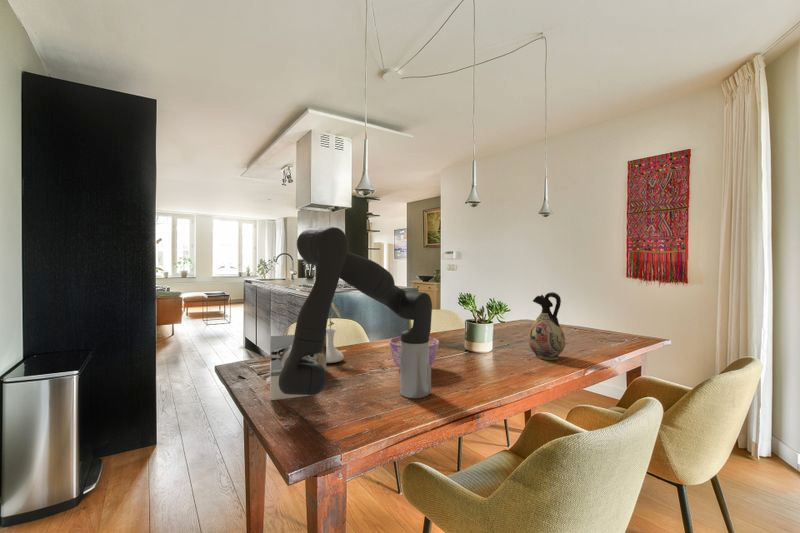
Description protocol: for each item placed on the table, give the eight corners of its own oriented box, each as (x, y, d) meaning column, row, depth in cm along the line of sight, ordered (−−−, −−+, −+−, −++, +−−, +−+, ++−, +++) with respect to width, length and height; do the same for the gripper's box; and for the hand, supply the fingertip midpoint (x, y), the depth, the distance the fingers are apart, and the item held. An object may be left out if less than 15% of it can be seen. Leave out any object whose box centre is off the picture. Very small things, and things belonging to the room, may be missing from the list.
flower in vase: (341, 365, 148) (341, 305, 148) (313, 365, 148) (314, 304, 148) (346, 357, 161) (346, 301, 161) (321, 356, 161) (321, 301, 161)
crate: (306, 384, 125) (306, 358, 125) (310, 395, 115) (310, 367, 114) (270, 388, 121) (270, 361, 121) (270, 400, 110) (270, 371, 110)
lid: (308, 334, 120) (308, 333, 119) (310, 367, 115) (310, 366, 114) (270, 336, 116) (270, 336, 115) (270, 371, 110) (270, 370, 110)
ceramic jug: (521, 357, 163) (522, 291, 163) (537, 351, 174) (538, 289, 173) (559, 365, 151) (560, 294, 150) (574, 358, 161) (575, 292, 161)
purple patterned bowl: (385, 376, 134) (385, 345, 134) (392, 361, 154) (392, 334, 154) (438, 378, 132) (439, 347, 132) (439, 363, 152) (439, 336, 152)
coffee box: (311, 369, 142) (311, 329, 142) (326, 370, 141) (327, 329, 141) (300, 376, 133) (300, 333, 133) (316, 377, 132) (317, 334, 132)
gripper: (320, 345, 101) (311, 334, 117) (270, 349, 96) (268, 337, 112) (320, 372, 101) (311, 357, 117) (270, 377, 96) (268, 361, 112)
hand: (290, 347), depth 115 cm, fingers closed
